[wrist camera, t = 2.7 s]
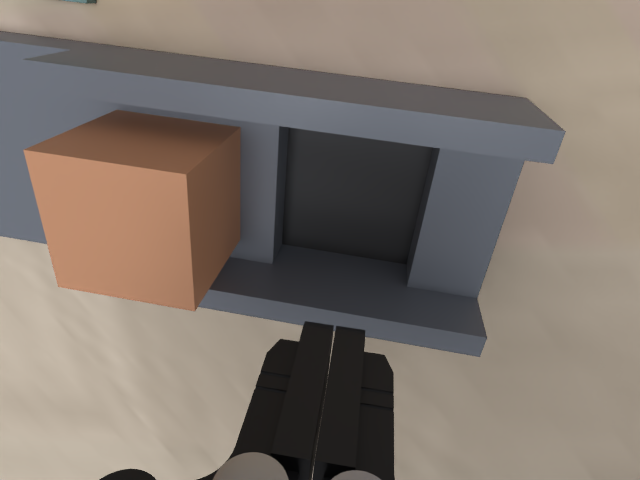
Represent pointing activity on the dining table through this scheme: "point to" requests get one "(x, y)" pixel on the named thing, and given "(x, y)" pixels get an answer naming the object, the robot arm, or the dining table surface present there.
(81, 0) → the pad
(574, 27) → the dining table surface
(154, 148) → the block
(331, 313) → the channel
